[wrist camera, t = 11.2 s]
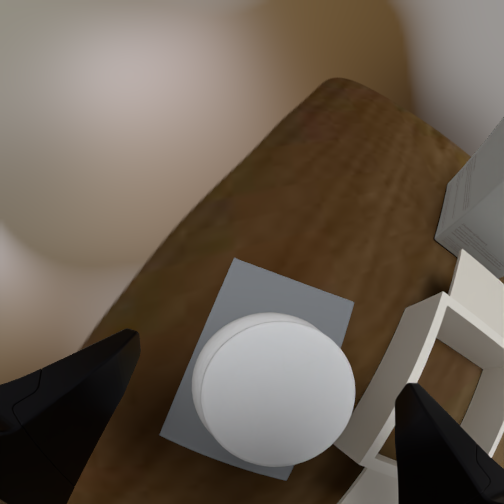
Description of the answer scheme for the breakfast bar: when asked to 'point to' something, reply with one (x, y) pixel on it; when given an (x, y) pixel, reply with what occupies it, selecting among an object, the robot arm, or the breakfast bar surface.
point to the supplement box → (477, 206)
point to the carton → (411, 366)
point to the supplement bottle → (273, 389)
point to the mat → (237, 306)
